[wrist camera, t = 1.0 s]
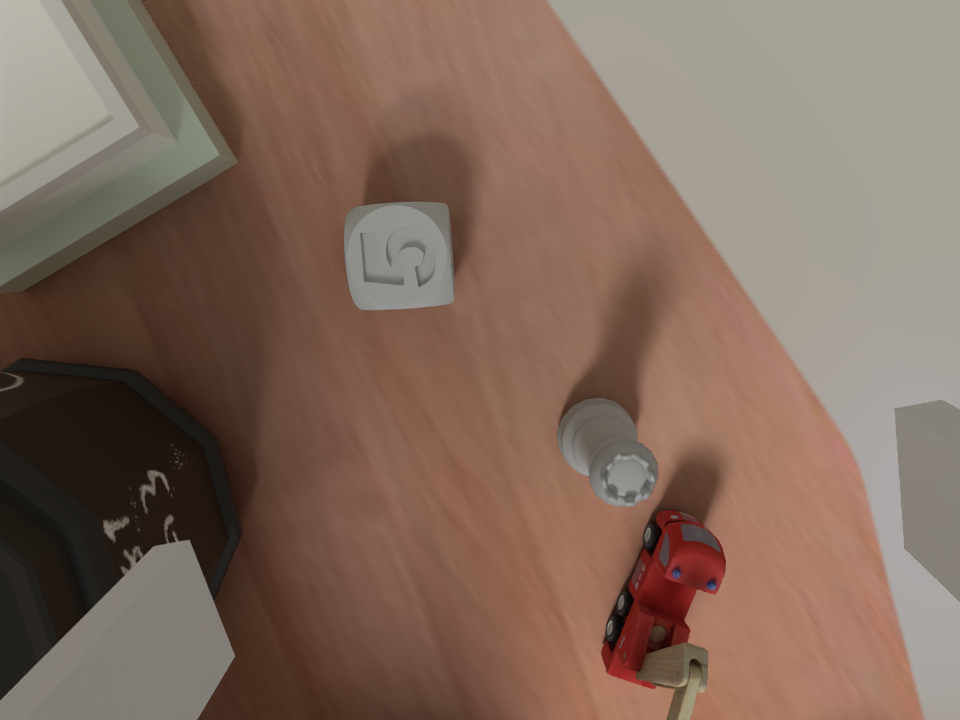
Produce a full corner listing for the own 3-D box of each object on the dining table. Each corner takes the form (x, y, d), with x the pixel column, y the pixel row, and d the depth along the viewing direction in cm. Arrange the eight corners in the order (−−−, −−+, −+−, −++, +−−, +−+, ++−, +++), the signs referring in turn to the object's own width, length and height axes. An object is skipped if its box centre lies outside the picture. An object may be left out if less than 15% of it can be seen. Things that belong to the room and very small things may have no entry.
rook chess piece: (539, 429, 37) (559, 474, 29) (600, 379, 37) (637, 412, 29) (588, 486, 37) (620, 545, 30) (648, 438, 37) (697, 485, 29)
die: (358, 213, 35) (339, 205, 30) (449, 208, 35) (446, 198, 30) (366, 305, 36) (349, 312, 31) (455, 300, 36) (453, 305, 31)
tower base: (26, 291, 36) (-75, 298, 29) (-131, 57, 34) (-278, 8, 27) (241, 163, 35) (187, 140, 28) (92, -84, 33) (-3, -171, 26)
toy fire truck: (708, 517, 38) (789, 603, 28) (623, 716, 40) (672, 860, 30) (656, 499, 38) (719, 579, 28) (573, 701, 40) (606, 840, 30)
